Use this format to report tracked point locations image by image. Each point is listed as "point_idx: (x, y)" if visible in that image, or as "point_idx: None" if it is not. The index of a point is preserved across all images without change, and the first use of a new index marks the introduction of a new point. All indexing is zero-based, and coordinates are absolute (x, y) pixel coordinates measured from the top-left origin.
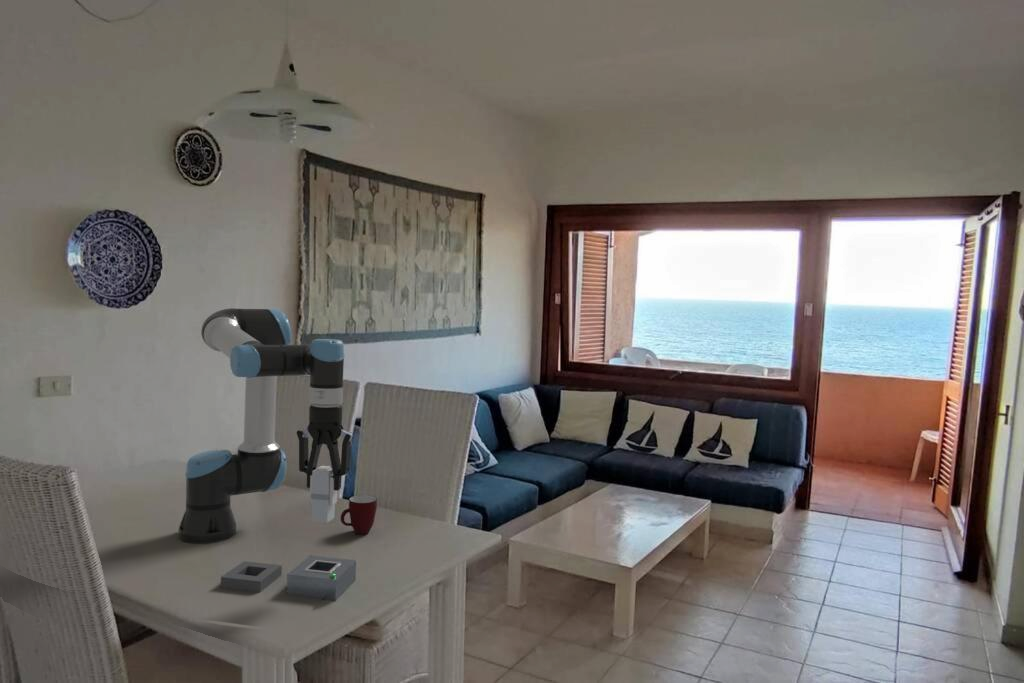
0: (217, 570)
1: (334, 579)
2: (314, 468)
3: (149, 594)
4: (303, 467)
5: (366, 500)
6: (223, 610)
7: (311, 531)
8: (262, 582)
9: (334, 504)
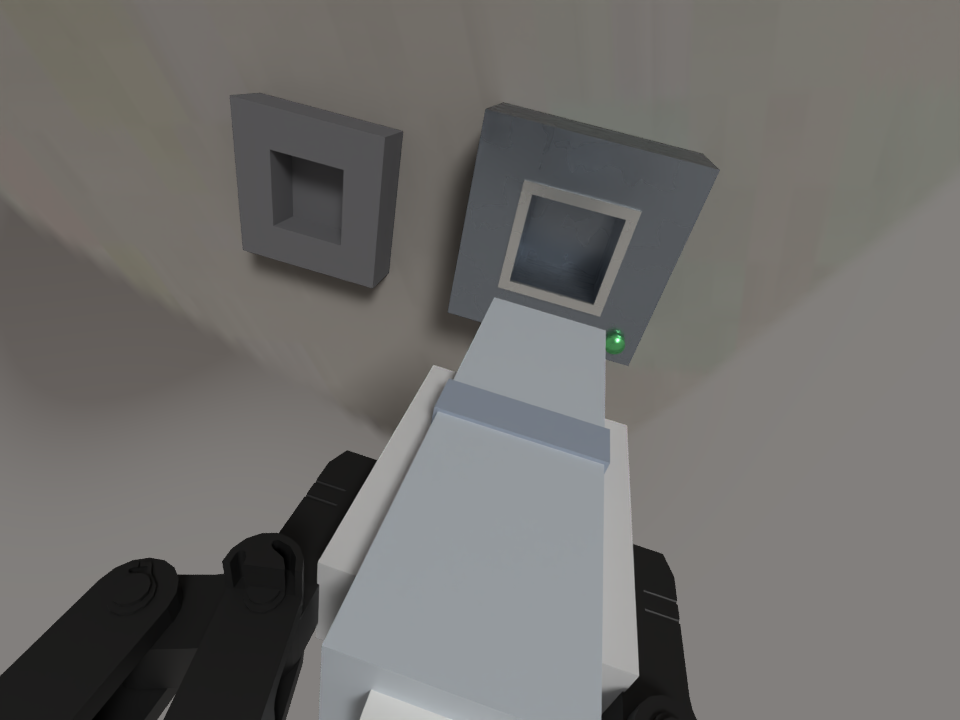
0: (165, 71)
1: (621, 363)
2: (276, 655)
3: (127, 264)
4: (162, 700)
5: None
6: (342, 359)
7: None
8: (376, 274)
9: (603, 387)
